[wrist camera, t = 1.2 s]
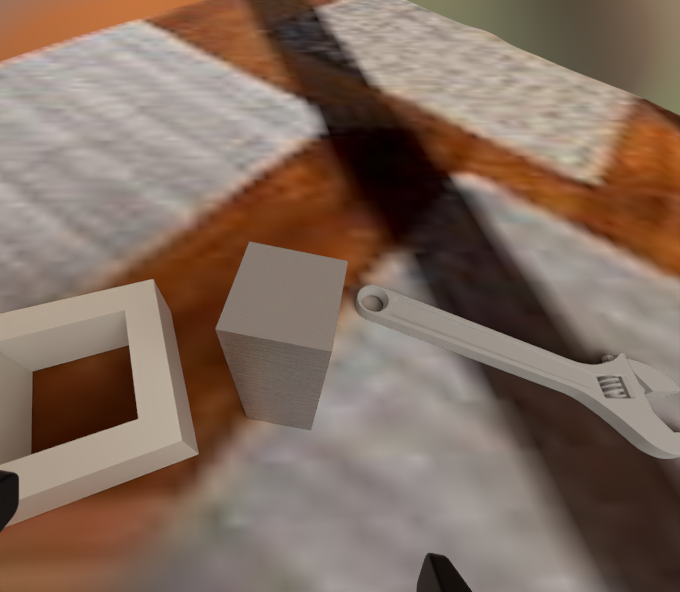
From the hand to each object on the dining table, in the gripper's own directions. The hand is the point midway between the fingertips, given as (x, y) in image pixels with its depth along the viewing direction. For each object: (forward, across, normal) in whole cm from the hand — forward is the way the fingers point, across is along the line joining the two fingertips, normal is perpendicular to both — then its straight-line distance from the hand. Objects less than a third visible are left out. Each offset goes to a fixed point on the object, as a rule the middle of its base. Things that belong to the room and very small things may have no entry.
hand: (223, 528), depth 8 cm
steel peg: (+15, 0, +5) cm, 16 cm away
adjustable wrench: (+20, -16, +1) cm, 25 cm away
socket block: (+13, +11, +7) cm, 18 cm away
